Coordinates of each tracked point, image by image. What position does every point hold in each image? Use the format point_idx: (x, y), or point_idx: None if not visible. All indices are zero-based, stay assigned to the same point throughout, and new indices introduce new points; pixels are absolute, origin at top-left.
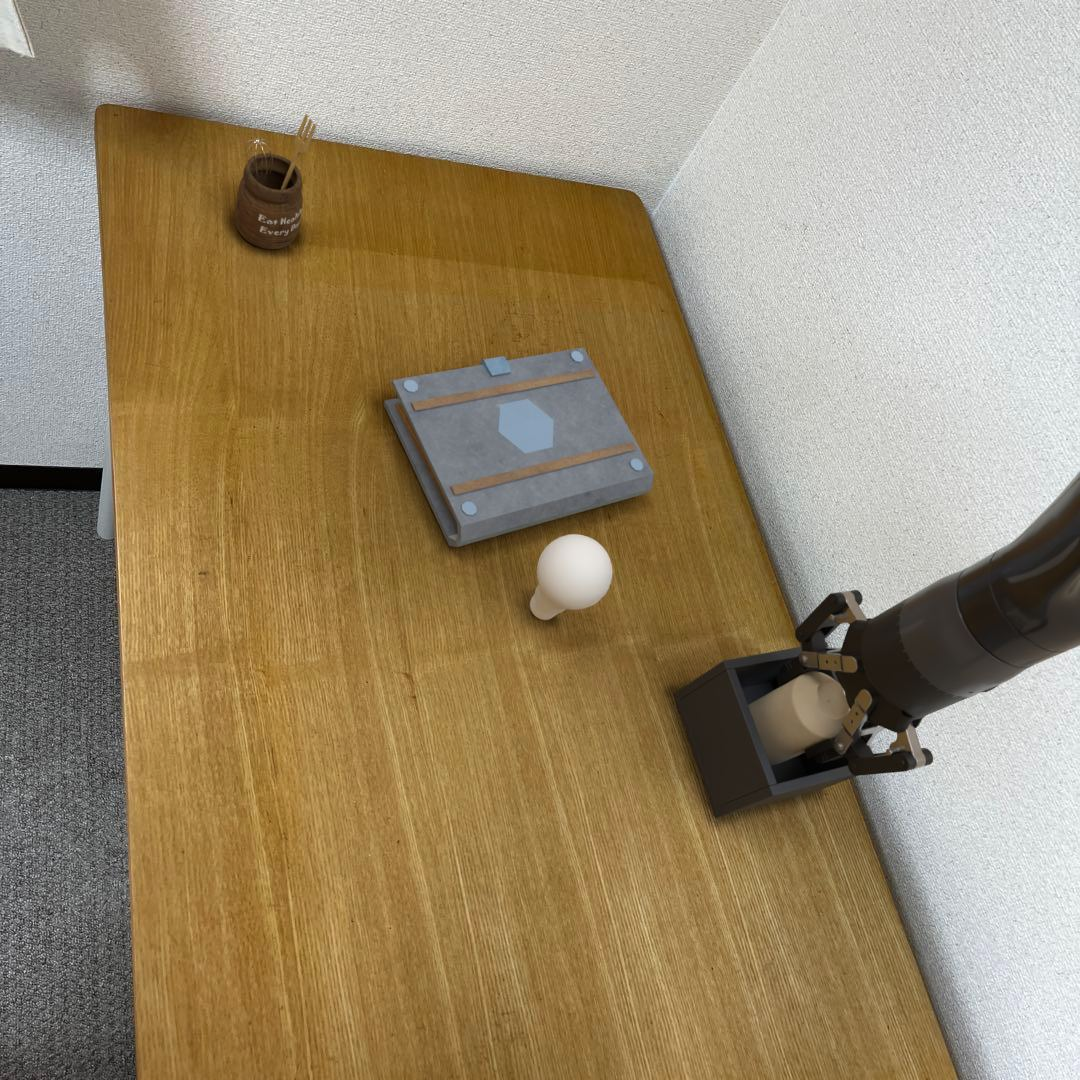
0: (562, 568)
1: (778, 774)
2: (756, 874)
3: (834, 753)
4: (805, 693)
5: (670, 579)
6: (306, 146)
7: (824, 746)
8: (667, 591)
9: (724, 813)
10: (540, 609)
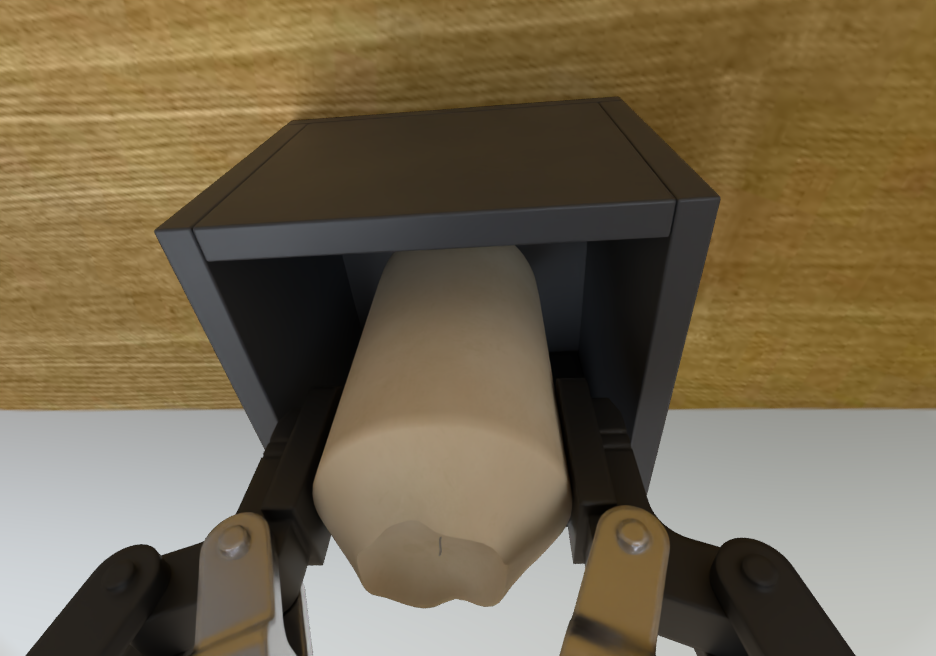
0: None
1: None
2: (176, 188)
3: (257, 492)
4: (482, 487)
5: (912, 190)
6: None
7: (291, 467)
8: (888, 170)
9: (279, 132)
10: None
